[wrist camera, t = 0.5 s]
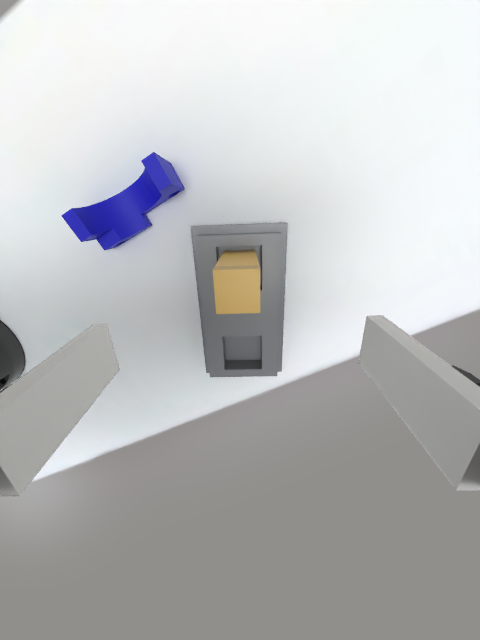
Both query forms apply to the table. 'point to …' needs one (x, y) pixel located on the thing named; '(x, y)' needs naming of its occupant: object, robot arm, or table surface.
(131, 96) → the table surface
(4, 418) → the robot arm
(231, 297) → the plug
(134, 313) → the table surface
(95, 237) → the cable clip
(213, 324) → the panel
